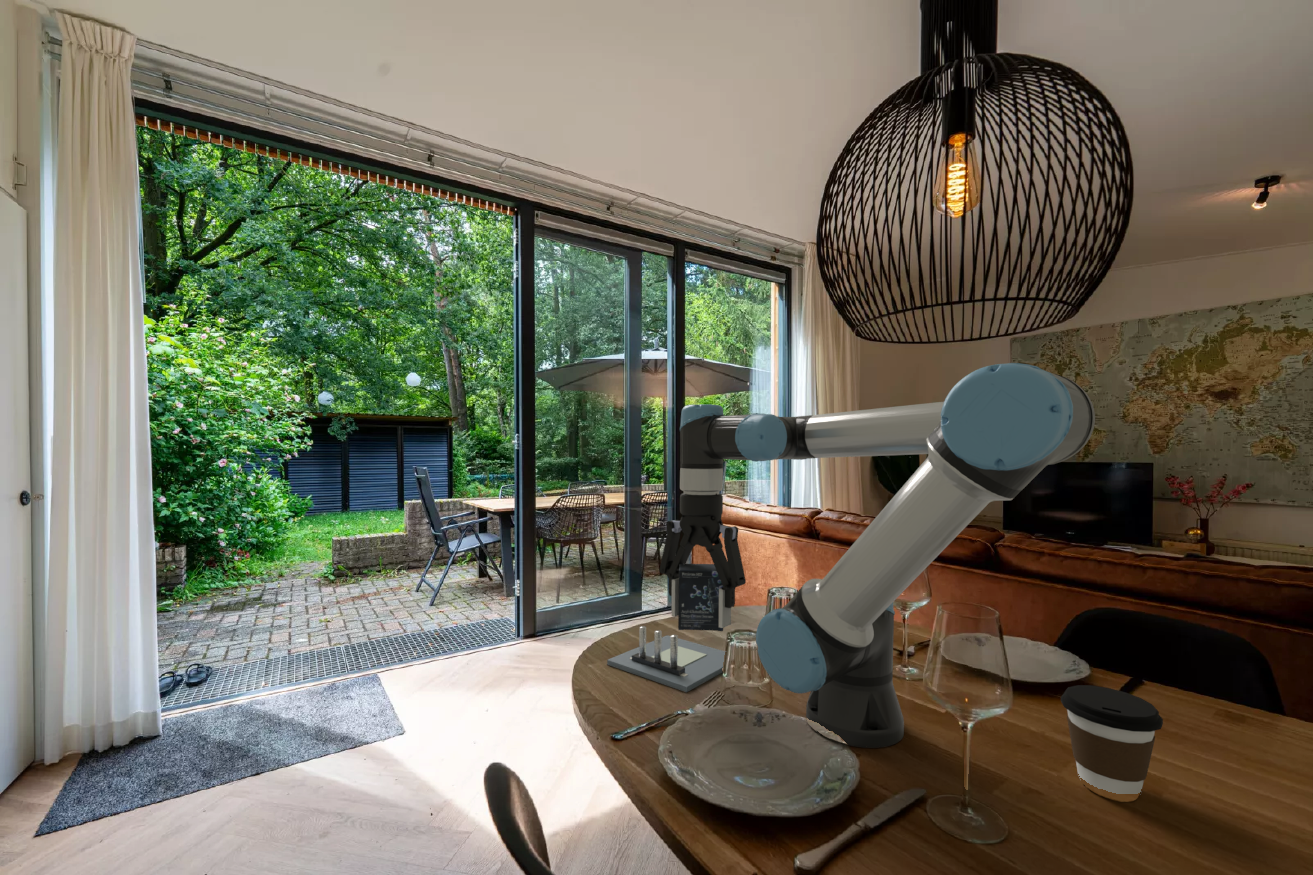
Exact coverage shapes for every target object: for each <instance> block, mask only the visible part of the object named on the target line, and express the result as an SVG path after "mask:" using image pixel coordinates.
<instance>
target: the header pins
mask: <svg viewBox="0 0 1313 875" xmlns="http://www.w3.org/2000/svg"><path fill="white" fill-rule="evenodd" d="M638 628H639V631H638V633H639V635H638V637H639V640H638V647H639V653H637V654H634V655H632V661H635V662H638V663H641V664H644V665H647V666H650V667H653V668H656V669H659V670H662V671H665V672H668V673H671V674H674V675H677V676H680V675H681V674H683V673H685V668H684V667H681V666H678V665H677V656H678V638H679V635H678V634H671V635H670V636H671V644H670V663H668V662H665V661H662V660H661V646H662V637H663V633H662V630H661V629H657V630H656V629H655V630H654V640H655V644H654V658H653V657H650V656H646V644H647V626H645V625H640V626H639V627H638Z"/></svg>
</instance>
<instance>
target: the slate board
mask: <svg viewBox="0 0 1313 875" xmlns="http://www.w3.org/2000/svg"><path fill="white" fill-rule="evenodd" d="M654 644H655V639H654V640H652V641H650V642H646V656H650V657H653V658H654ZM670 644H671V635H667V634H666V635H665V636H662V646H661V660H662V661H665V662H668V663H670ZM725 652H726V651H725V650H722V649H718V648H714V647H710V646H706V645H703V644H699V643H696V642H694V641H690V640H685V639H682V638H679V637H678V656H677V665H678V666H681V667H684V668H685V673H683V674H681V675H680V676H677V675H674V674H671V673H668V672H665V671H662V670H659V669H656V668H653V667H650V666H647V665H644V664H641V663H638V662H635V661H632V655H634V654H637V653H639V646H637V647H635V648H632V649H630V650H627V651H625V652H623V653H620V654H618V655H616V656H613V657H611V658H608V659H607V662H606V665H607V666H609V667H613V668H616V669H618V670H621V671H624V672H627V673H630V674H633V675H634V676H635V675H636V676H639V677H641V678H645V679H647V680H650V681H654V682H656V683H659V684H662V685H665V686H667V687H671V688H673V689H676V690H679V691H682V692H685V693H688V692H690V691H691V690H693V689H695V688H697V687H699V686H700V685H702V684H704V683H706V682H708V681H710V680H711V679H713V678H715V677H717V676H718V675H721V674H722V673H723V672H722V668H723V662H724V655H725Z"/></svg>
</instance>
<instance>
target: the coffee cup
mask: <svg viewBox="0 0 1313 875" xmlns="http://www.w3.org/2000/svg"><path fill="white" fill-rule="evenodd" d="M1060 702H1061V704H1062V706H1063V708H1065V709H1066V711H1067V715H1066V716H1067V717H1066V719H1067V724H1068V729H1069V730H1068V732H1069V739H1070V743H1071V749H1072V754H1073V755H1072V756H1073V758H1074V760H1075V763H1076V770H1077V775H1078V774H1079V775H1078V777H1079V776H1080V777H1079V779H1080V778H1082V779H1083V780H1085V781H1086V782H1087V783H1089V784H1090V785H1093V786H1094V787H1097V788H1098V789H1103V790H1106V791H1108V792H1112V793H1116V794H1138V793H1140V792H1141V793H1142V791H1141V789H1143V785H1144V781H1145V780H1146V778H1147V776H1148V771H1149V767H1150V763H1151V759H1152V753H1153V749H1154V744H1155V739H1156V736H1155V732H1156V731H1159V730H1161V729H1162V727H1163V725H1164V719H1163V718H1162V716H1161V715H1160V714H1159V713H1160V711H1159V710H1158V709H1157V708H1156V707H1155V706H1154V705H1153V704H1152V703H1150V702H1148V701H1147V700H1145V699H1143V698H1141V697H1139V696H1138V695H1137V696H1136V695H1133V694H1131V693H1128V692H1125V691H1122V690H1119V689H1118V690H1117V689H1115V688H1110V687H1106V686H1105V687H1104V686H1098V685H1089V684H1088V685H1087V684H1086V685H1083V684H1080V685H1079V684H1077V685H1072V686H1068V687H1067V688H1066V689H1065V691H1064V692H1063V693H1062V695H1061V696H1060Z"/></svg>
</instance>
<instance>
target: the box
mask: <svg viewBox="0 0 1313 875" xmlns="http://www.w3.org/2000/svg"><path fill="white" fill-rule="evenodd" d="M722 587H723V585H722V583H721V580H720V578H719V575H718V573H717V570H716V568H715V565H714V563H686V564H685V563H682V564H679V606H678V616H677V617H678V620H677V624H678V625H677V628H678V631H684V630H686V631H715V632H716V631H717V632H723V631H724V628H720V627H719V589H720V588H722Z"/></svg>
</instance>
